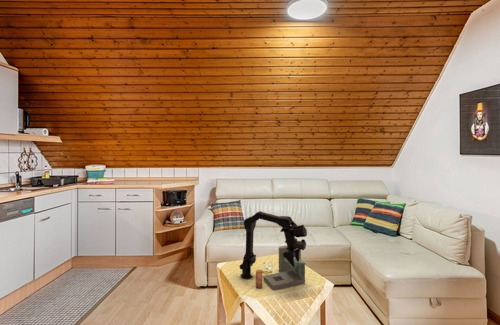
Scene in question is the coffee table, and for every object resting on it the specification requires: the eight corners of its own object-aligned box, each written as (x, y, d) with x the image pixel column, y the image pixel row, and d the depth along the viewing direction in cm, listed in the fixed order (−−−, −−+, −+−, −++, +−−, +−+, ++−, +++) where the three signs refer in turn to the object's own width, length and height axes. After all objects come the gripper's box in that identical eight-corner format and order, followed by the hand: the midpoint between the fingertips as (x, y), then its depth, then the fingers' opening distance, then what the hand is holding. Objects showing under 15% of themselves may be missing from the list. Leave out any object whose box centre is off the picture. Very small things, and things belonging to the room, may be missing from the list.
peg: (254, 286, 173) (254, 270, 172) (260, 285, 174) (260, 269, 174) (257, 289, 169) (257, 273, 168) (263, 288, 170) (263, 272, 170)
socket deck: (263, 280, 180) (263, 275, 180) (293, 274, 188) (293, 269, 188) (273, 290, 167) (273, 285, 167) (304, 283, 176) (304, 279, 175)
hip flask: (279, 274, 189) (279, 244, 188) (277, 271, 193) (277, 242, 192) (301, 271, 193) (301, 242, 192) (298, 268, 197) (299, 240, 196)
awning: (283, 271, 186) (283, 255, 185) (292, 269, 189) (292, 254, 188) (295, 281, 172) (295, 264, 172) (305, 279, 175) (305, 262, 174)
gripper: (298, 241, 157) (304, 269, 156) (307, 232, 174) (312, 257, 173) (280, 243, 162) (286, 270, 161) (290, 234, 179) (295, 258, 178)
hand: (296, 263), depth 168 cm, fingers open, 9 cm apart
